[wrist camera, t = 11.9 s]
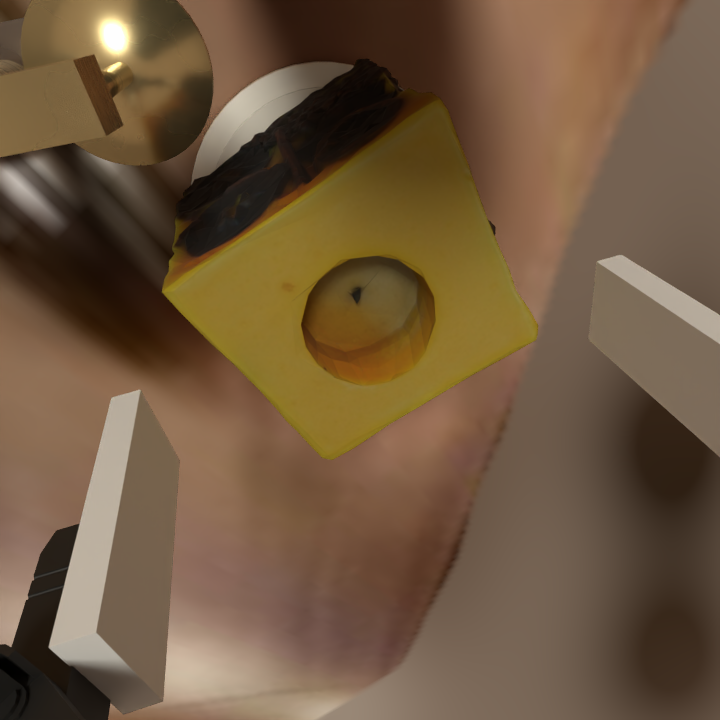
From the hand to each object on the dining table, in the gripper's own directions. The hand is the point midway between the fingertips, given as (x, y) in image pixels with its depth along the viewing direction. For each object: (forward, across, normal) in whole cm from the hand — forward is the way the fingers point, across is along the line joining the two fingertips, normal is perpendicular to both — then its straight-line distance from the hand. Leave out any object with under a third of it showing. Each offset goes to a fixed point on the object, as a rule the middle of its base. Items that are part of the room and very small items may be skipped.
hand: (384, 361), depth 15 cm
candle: (+13, +1, 0) cm, 13 cm away
